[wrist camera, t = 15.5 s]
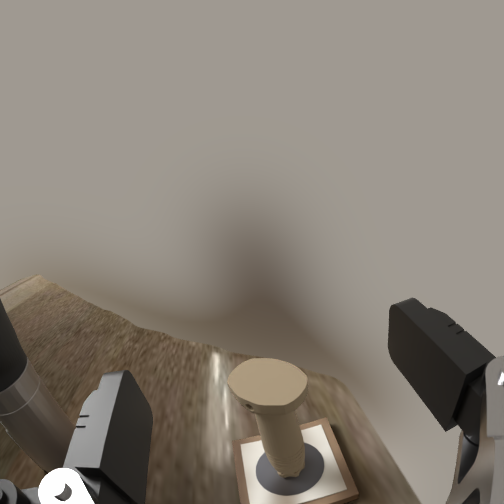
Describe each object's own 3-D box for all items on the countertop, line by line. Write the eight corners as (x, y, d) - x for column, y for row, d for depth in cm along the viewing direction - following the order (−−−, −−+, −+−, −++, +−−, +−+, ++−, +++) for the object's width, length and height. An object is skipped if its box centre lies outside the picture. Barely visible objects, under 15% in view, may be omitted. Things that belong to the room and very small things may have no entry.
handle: (278, 443, 32) (252, 351, 26) (326, 461, 28) (318, 371, 22) (253, 471, 28) (216, 386, 23) (303, 494, 24) (283, 415, 19)
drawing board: (246, 526, 23) (242, 522, 22) (235, 447, 34) (231, 439, 33) (358, 498, 24) (359, 492, 23) (327, 424, 35) (326, 415, 34)
